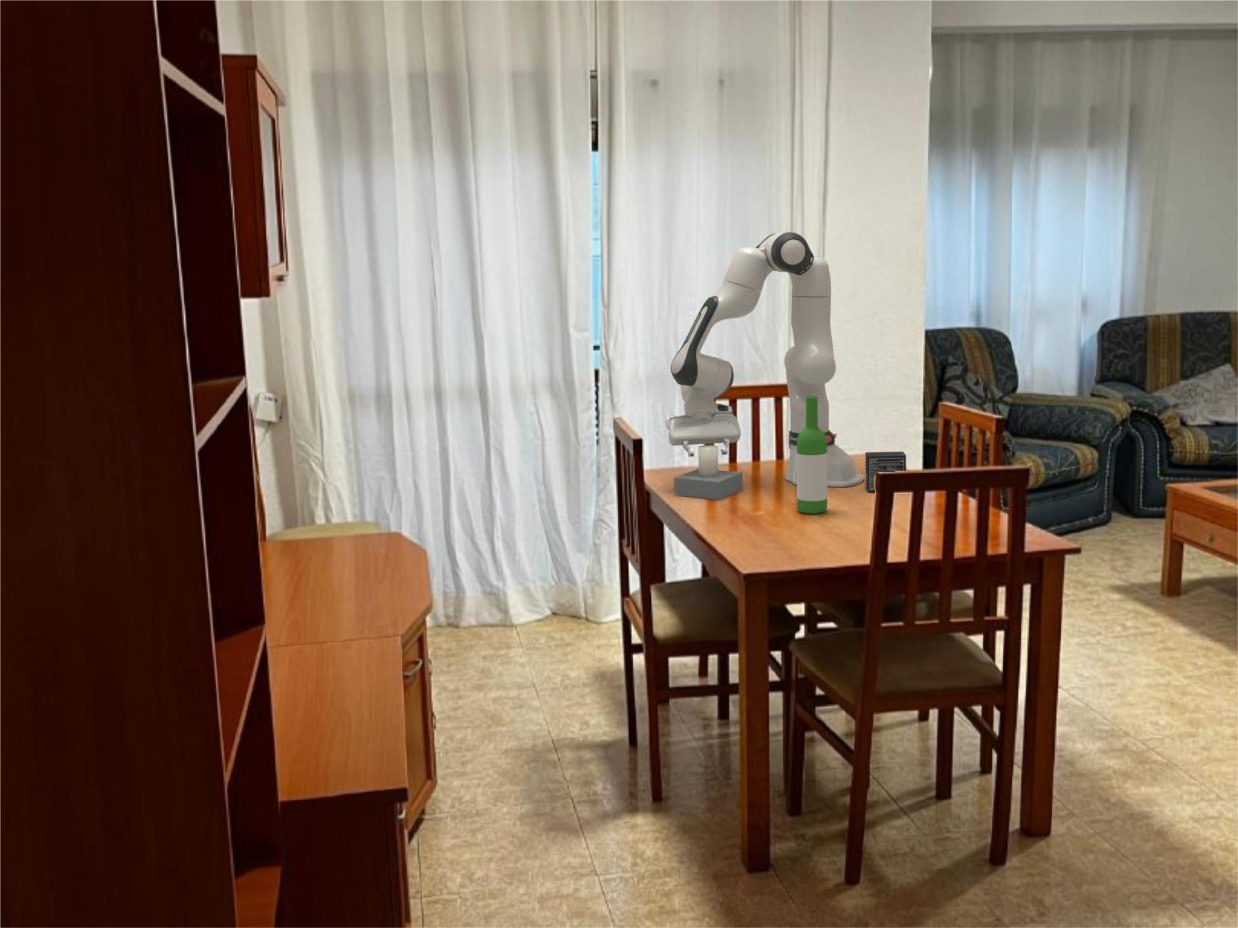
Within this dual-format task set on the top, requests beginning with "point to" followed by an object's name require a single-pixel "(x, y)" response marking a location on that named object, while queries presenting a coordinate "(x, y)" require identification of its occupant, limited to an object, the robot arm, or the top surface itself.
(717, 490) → the plinth
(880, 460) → the small box
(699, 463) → the cylinder
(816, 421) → the wine bottle
